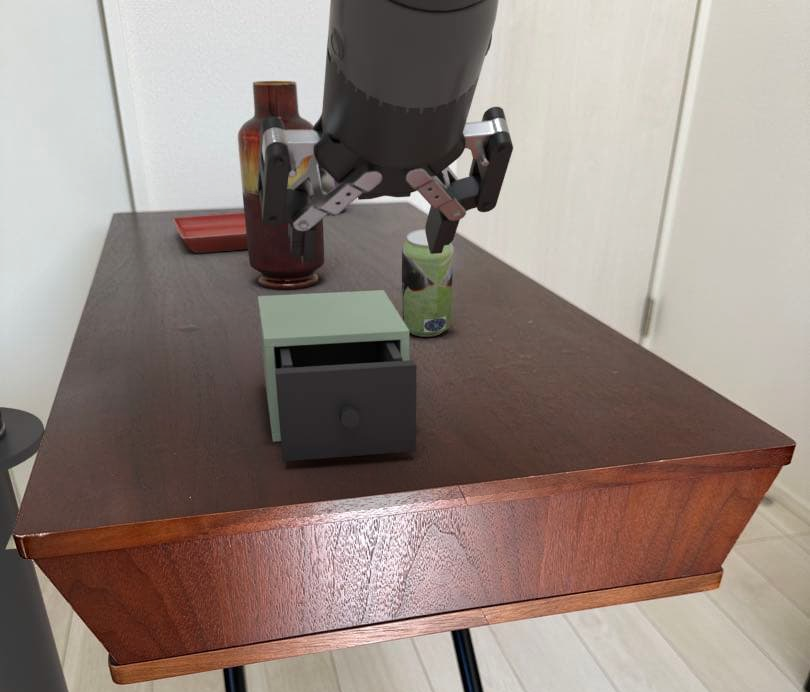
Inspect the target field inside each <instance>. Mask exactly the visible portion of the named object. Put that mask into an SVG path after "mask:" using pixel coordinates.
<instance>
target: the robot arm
mask: <svg viewBox="0 0 810 692" xmlns="http://www.w3.org/2000/svg"><path fill="white" fill-rule="evenodd" d="M498 8H499V0H330V4H329V18H328V28H327V29H328V31H327V44H326V56H325V68H324V81H323V83H324V84H323V95H322V97H323V98H322V107H321V108H322V109H321V114H320V116H319V117H318V120H317V121H316V122H315V123H314V124H313V128H312V130H284V124H283V121H282V120H281V119H280V118H279V117H275V116H270V117H267V118H265V119H264V120H263V121H262V123H261V132H260V147H259V162H258V177H257V190H258V194H259V196H260V202H261V208H262V219H263V223H264V224H265V225H266V226H270V227H275V226H278V225H280V224H281V223H282V222H287V223H289V224H288V235H289V241H290V246H291V252H292V254H293V255H294V257H299V256H301V259H302V263H303V264H309V263H314V254H315V241H316V224H317V223H318V222H319V221H320V220H321V219H323V220H324V218H325V217H327V215H330V216H333V217H336V216H337V215H339V214H340V212H341V211H342V210H343V209H344V208H346V209H347V207H348V206H349V205H351V204H352V203H353V202H354V201H355V200H357V199H358V201H361V200H362V201H363V200H373V199H377V198H381V197H391V198H409V197H411V194H412V193H415V192H418V193H419V194H420V195H421V196H422V198H424V200H425V201H426V202H427V203H428V204H429V205H430V207H429V211H428V214H427V218H426V221H425V225H424V227H425V228H424V229H425V232H426V237H427V242H428V246H429V251H430V253H431V254H437V253H442V251H443V248H444V245H449V244H450V243H451V244H452V242H453V241H454V239H455V235H456V233H457V230H458V226H459V223H460V221H461V220H462V219H463V218H465V216H466V215H467V211H470V210H473V209H476V210H477V212H479V213H488V212H491V211H492V210H494V209H495V208H496V206H497V204H498V200H499V197H500V193H501V192H502V191H501V190H502V187H503V184H504V180H505V177H506V173H507V171H508V167H509V165H510V164H509V163H510V161H511V157H512V153H513V150H514V145H513V141H512V138H511V134H510V133H511V132H510V130H509V126H508V123H507V119H506V114H505V111H504V109H503V108H502V107H501V106H492V107H489V108H488V109H486V110H485V111H484V113H483V115H482V118H481V120H480V121H470V122H469V121H468V117H469V113H470V110H471V106H472V103H473V99H474V96H475V92H476V90H477V86H478V83H479V80H480V75H481V72H482V69H483V65H484V62H485V59H486V57H487V55H488V53H489V51H490V49H491V46H492V40H493V31H494V27H495V23H496V19H497V14H498ZM467 121H468V122H467ZM465 149H467V150H470V152H471V153H470V154H471V156H472V160H471V164H470V169H469V173H468V176H466V177H463V178H458V176H457V175H456V173H454V171H453V170H452V169H451V167H450V166H451V165H452V164H453V163H454V162H456V161H457V160H458V159H460V157H461V156H462V155H463V153H464V151H465ZM309 156H313V157H312V158H311V159H310V161H309V163H308V168H307V171H306V172H305V173H304V174H303V175H302V176H301V177H300V178H298V179H297V180H296V181H295V182H294V183H293V184H292V185H291V186H290V187H289V188H288V189H287V186H288V177H295V176H296V175H297V172H296V169H297V168H299V167H300V165H301V163H302V161H303V160H304V159H305V158H307V157H309ZM334 180H335V181H336V182H337V183H338V185H337V186H335V182H334ZM312 195H313V198H312V200H311V199H310V198H309V197H311V196H312ZM341 213H342V212H341ZM1 416H2V415H1V411H0V440H1V439H2V438H3V437H4V436H5V434H6V427H5V424H4V421H3V420H2V417H1Z"/></svg>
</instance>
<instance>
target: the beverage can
mask: <svg viewBox="0 0 810 692" xmlns="http://www.w3.org/2000/svg"><path fill="white" fill-rule="evenodd" d="M454 251H455V250H454V246H453V243H452V242H451V243H450V244H449V245H444V248H443V251H442V253H437V254H431V253H430V251H429V246H428V242H427V237H426V232H425V228H423V229H417V230H413V231H411V232H409V233H408V234H407V235H406V240H405V241H404V242H403V245H402V247H401V318H402V320H403V321H404V323H405V325H406V326H407V328H408V329H409V334H412V335H413V336H417V337H421V338H422V337H423V338H424V337H425V338H429V337H436V336H439V335H440V334H442V333H443V332H445V331H447V330H448V329H449V328H450V326H451V321H452V320H451V319H452V298H453V297H452V295H453V275H454V273H453V272H454V255H455V254H454Z"/></svg>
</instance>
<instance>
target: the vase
mask: <svg viewBox="0 0 810 692" xmlns="http://www.w3.org/2000/svg"><path fill="white" fill-rule="evenodd" d="M252 92H253V93H252V95H253V109H254V110H253V111H254V113H253V116H252V117H251V118H249V119H248V120H246V121H245V122H244V123H243V124H242V125H241V126H240V128H239V130H238V133H237V146H238V158H239V169H240V170H239V171H240V182H241V190H242V202H243V213H244V214H245V225H246V235H247V245H248V249H247V254H248V263H249V266H250V267H251V268H252V269H253V270H255V271H257V272H258V273H261V274H260V275H259V276H258V277H257V284H258V285H259V286H260V287H263V288H266V289H272V290H299V289H304V288H310V287H313V286H315V285H316V284H318V283H319V281H320V278H319V276H318V274H317V273H316V271H317V270H318V269H319V268H321V267H322V266H324V264H325V238H324V237H325V236H324V218H323V219H321V220H320V221H319V222H318V223H317V224H316V241H315V254H314V263H309V264H303V263H302V259H301V256H299V257H294V255H293V254H292V252H291V246H290V241H289V235H288V224H289V223H287V222H282V223H281V224H280V225H278V226H275V227H270V226H266V225H265V224H264V223H263V219H262V208H261V202H260V196H259V194H258V190H257V177H258V162H259V147H260V132H261V123H262V121H263V120H264V119H265V118H267V117H270V116H275V117H279V118H280V119H281V120H282V121H283V124H284V130H312V128H313V126H314V124H313V123H312V122H310V121H309V120H307V119H306V118H304V117H303V116H301V115H300V110H299V97H298V85H297V82H296V81H295V80H293V81H291V80H260V81H259V80H258V81H252ZM312 157H313V156H309V157H307V158H305V159H304V160H303V161H302V163H301V165H300V167H299V168H297V169H296V172H297V175H296V176H295V177H288V186H287V189H288V188H289V187H290V186H291V185H292V184H293V183H294V182H295V181H296V180H297V179H298V178H300V177H301V176H302V175H303V174H304V173H305V172H306V171H307V168H308V163H309V161H310V159H311V158H312ZM309 198H310V199H311V200H312V198H313V195H312V196H311V197H309Z"/></svg>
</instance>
